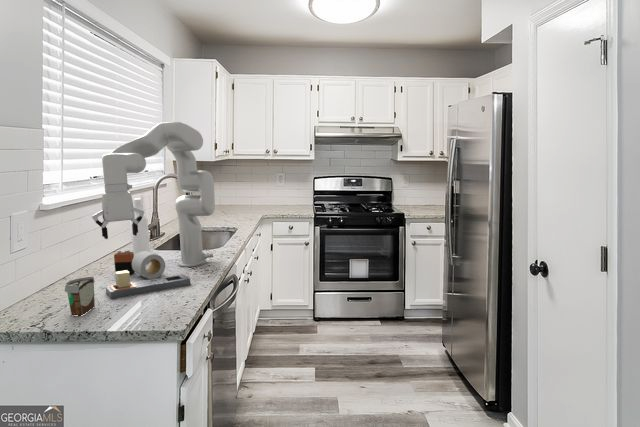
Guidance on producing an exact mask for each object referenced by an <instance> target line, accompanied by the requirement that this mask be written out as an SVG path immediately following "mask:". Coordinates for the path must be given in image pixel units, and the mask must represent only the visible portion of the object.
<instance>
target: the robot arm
mask: <svg viewBox="0 0 640 427" xmlns="http://www.w3.org/2000/svg"><path fill="white" fill-rule="evenodd" d="M203 145H204V139H203V135H202V134H201V132H200V131H199V130H197V129H195V128H194V127H192V126H191V125H188V124H186V123H185V122H182V121H168V122H166V121H165V122H160V123H159V122H158V123H157V124H156V125H154V126H153V127H151V129H149V130H148V131H147V132H146V133H144V134H143V135H142V136H139V137H137V138H135V139H132V140H130V141H129V142H126V143H123V144H121V145H119V146H117V147H115V149H113V150H112V151H111V152H109V153H105V154H103V155H102V158H101V162H102V173H103V183H104V192H103V193H102V198H101V210H100V211H98V212H96V213H94V214H92V216H91V218H92V220H93V221H94V223H95V224H96V225H98V226H99V227H101V236H102V238H104V239H105V240H108V239H109V234H108V227H107V225H109V223H110V222H113V223H114V222H122V221H123V222H124V221H130V220H131V221H132V222H133V224H132V230H133V235H135V236H136V235H137V233H138V223H139V222H140V221H141V219H142V217H143V215H145V211H144V210H143V209H142V210H139V209H137V208H134V203H133V197H132V194H131V192H130V191H129V190H130V189H133V185H132V184H129V182H128V174H129V175H130V174H140V173H141V172H143V171H144V170H145V168H146V166H147V160H146V158H150V157H153V156H155V155H158V154H159V153H160V152H161V151H162V149H164V148H165V147H166V148H167V149H168V150H169V151H170V152H171V154H172V155H173V156H174V159H175V162H176V172H177V173H176V174H177V185H178V189H179V190H180V191H181V192H186V193H188V192H189V193H199V194H185V195H181V196H179V197H177V199H176V200H175V203H174V204H175V210H176V213H177V219H178V227H179V228H178V230H179V240H180V242H179V243H180V258H181V260H179V261H177V265H178V266H179V267H184V268H185V267H198V266H203V265H205V264H207V260H206V259H211V258H213V257H214V253H209V252H208V253H206V252H203V240H202V225H201V222H200V220H199V218H198V217H210V216H211V215H213V214H214V213H215V210H216V209H215V207H216V201H215V200H216V198H215V197H216V196H215V182H214V177H213V175H212V173H211V172H210V171H208V170H202V169H201V170H198V165H197V160H196V157H195V155H194V153H193V152H192V151H194V152H196V151H199V150H200V149H201V148H202V147H203ZM134 211H135V212H138V213H139V216H138V217H137V218H136V219H135V218H134V217H135V213H134ZM100 216H102V221H100V220H99V218H100Z"/></svg>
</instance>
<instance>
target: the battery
mask: <svg viewBox="0 0 640 427" xmlns="http://www.w3.org/2000/svg"><path fill="white" fill-rule="evenodd" d="M133 258H134V253H133V252H132V251H131V250H124V252H122V250H120V251H119V250H118V251H117V252H116V253H114V254H113V259H114V273H115V272H118V271H124V270H127V271H129V274H130V276H132V275H134V274H135V273H136V272H135V271H134V270H133V268H132V260H133Z"/></svg>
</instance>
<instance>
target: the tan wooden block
mask: <svg viewBox="0 0 640 427" xmlns="http://www.w3.org/2000/svg"><path fill="white" fill-rule="evenodd" d="M114 276H115V285H116V289H121V288H127V287H130V282H131V279H130V278H131V277H130V276H131V275H130V274H129V271H127V270H124V271H118V272H115V271H114Z"/></svg>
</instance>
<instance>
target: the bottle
mask: <svg viewBox="0 0 640 427" xmlns="http://www.w3.org/2000/svg"><path fill="white" fill-rule="evenodd" d="M132 200H133V206H134V208H137V209H139V210H142V211H143V200H142V198H132ZM134 213H135V217H134V218H135V219H136V218H137V217H138V216H139V213H138V212H135V211H134ZM129 224H130V238H131V250H132V251H131V252H133V253H134V256H135V255H136V254H137V253H139V252H142V251H148V252H151V247H150V246H151V245H150V233H149V221H148V218H147V216H146V214H144V215H143V217H142V219H141V221H140V222H139V223H138V233H137V235H136V236H135V235H133V230H132V224H133V222H132V221H131V220H129ZM149 262H151V260H149V261H148V262H147V263H149Z"/></svg>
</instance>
